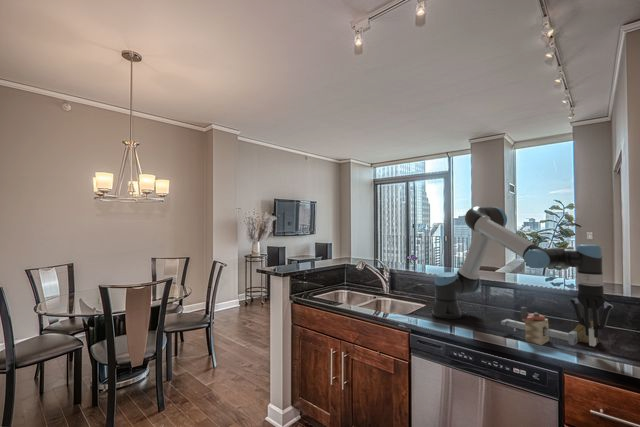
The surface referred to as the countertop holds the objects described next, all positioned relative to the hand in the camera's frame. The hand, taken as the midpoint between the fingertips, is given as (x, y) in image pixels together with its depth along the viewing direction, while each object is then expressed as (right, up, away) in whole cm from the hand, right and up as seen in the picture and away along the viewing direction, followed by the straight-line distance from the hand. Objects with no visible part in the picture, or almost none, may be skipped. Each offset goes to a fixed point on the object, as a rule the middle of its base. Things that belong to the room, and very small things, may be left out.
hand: (592, 345), depth 121 cm
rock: (+9, -5, +15) cm, 18 cm away
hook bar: (-11, -2, +16) cm, 19 cm away
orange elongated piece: (-14, +5, +15) cm, 21 cm away
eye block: (-11, -5, +15) cm, 20 cm away
